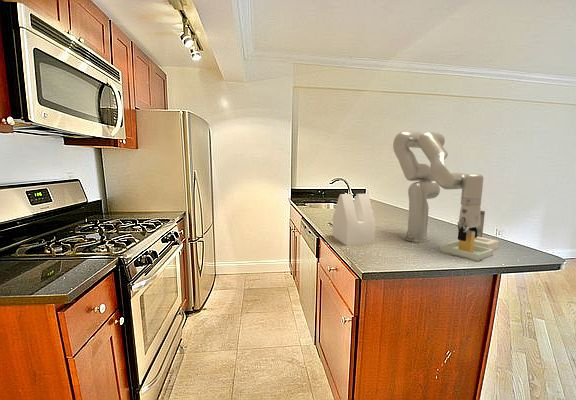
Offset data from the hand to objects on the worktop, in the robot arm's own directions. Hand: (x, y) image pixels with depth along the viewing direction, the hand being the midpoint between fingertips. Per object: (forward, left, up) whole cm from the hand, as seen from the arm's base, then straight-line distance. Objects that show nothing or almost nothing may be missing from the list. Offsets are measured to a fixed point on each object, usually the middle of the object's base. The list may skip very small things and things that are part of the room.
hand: (467, 238), depth 125 cm
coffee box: (+27, +9, -7) cm, 30 cm away
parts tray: (0, 0, -7) cm, 7 cm away
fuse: (0, 0, -6) cm, 6 cm away
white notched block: (-28, +44, -7) cm, 53 cm away
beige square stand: (+16, +1, -7) cm, 18 cm away
